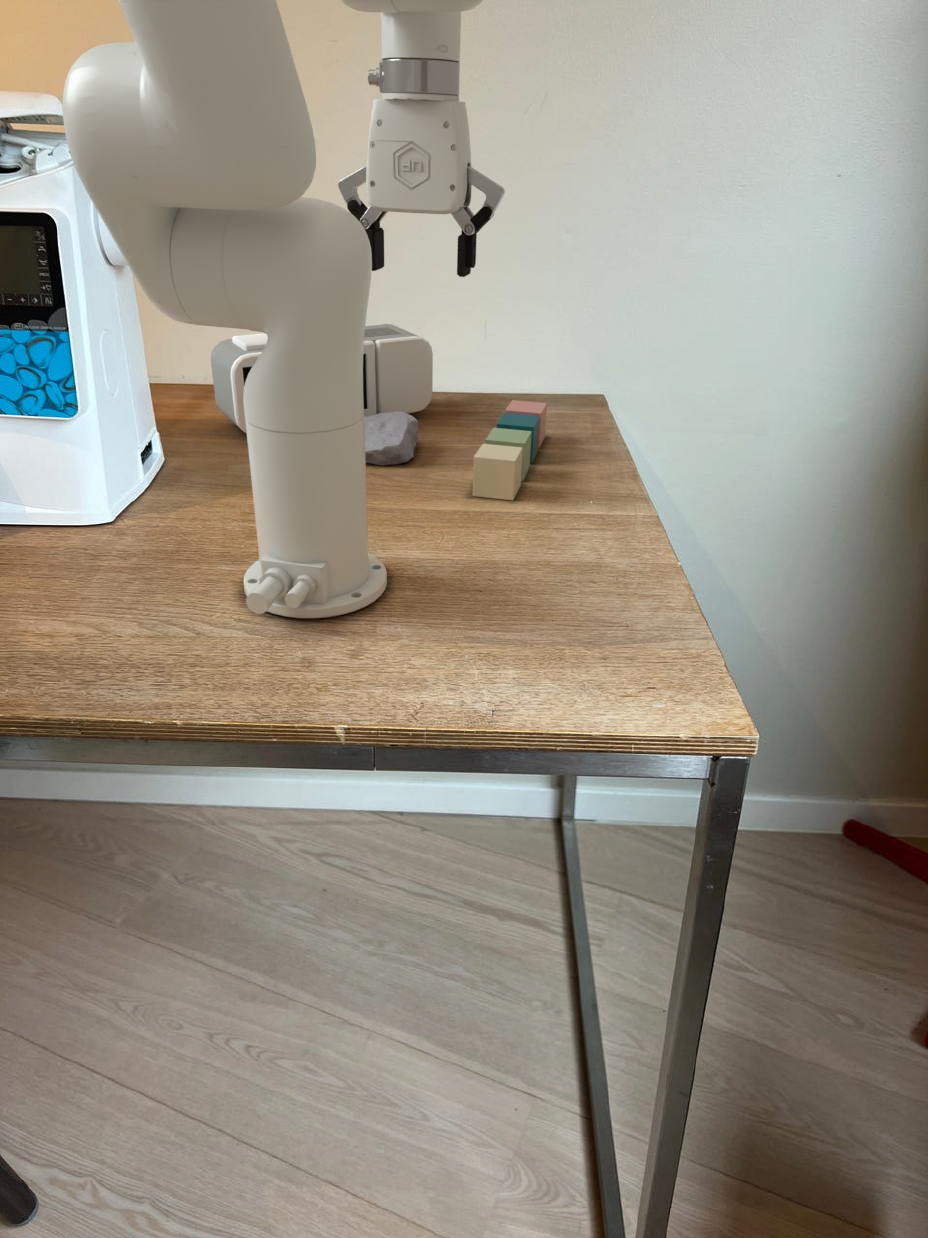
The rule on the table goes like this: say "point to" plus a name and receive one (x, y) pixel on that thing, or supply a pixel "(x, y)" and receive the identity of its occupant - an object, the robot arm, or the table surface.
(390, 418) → the stone block
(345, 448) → the robot arm
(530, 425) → the teal block
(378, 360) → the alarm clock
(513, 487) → the cream block
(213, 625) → the table surface
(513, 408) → the rose block
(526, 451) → the sage block
